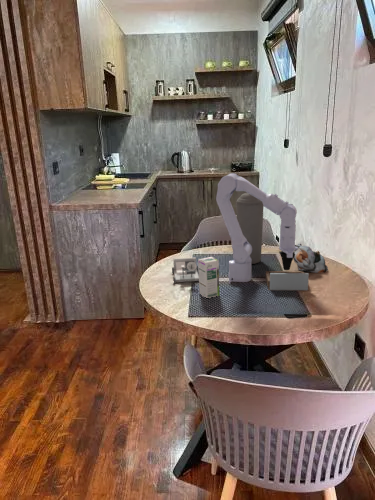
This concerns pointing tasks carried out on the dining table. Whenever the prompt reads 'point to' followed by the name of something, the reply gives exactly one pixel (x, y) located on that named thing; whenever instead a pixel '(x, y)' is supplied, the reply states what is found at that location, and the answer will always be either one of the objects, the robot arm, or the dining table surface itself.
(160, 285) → the dining table surface
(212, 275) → the syrup box
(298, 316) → the phone
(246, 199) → the canister
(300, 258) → the lucky cat figurine
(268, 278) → the brown shallow open box
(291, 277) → the cabinet door
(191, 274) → the grey small appliance
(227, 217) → the robot arm
